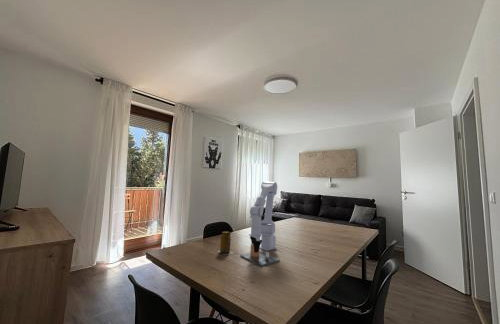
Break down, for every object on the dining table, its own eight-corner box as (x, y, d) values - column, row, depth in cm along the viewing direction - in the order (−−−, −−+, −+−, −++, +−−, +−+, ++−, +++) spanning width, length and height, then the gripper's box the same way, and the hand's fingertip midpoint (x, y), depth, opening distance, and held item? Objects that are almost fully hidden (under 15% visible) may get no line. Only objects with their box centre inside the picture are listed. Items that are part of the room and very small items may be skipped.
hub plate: (258, 252, 132) (258, 244, 132) (279, 261, 118) (280, 252, 118) (240, 256, 123) (240, 247, 123) (261, 266, 109) (261, 256, 110)
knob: (258, 253, 126) (258, 242, 127) (259, 256, 122) (260, 245, 122) (249, 253, 126) (250, 242, 126) (251, 256, 121) (251, 245, 121)
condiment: (226, 249, 135) (227, 230, 136) (234, 253, 129) (235, 233, 130) (216, 251, 131) (217, 231, 132) (224, 255, 124) (225, 234, 125)
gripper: (247, 224, 132) (246, 246, 130) (251, 229, 117) (250, 254, 116) (258, 224, 133) (257, 246, 132) (263, 229, 119) (263, 254, 117)
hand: (255, 250), depth 124 cm, fingers open, 6 cm apart
